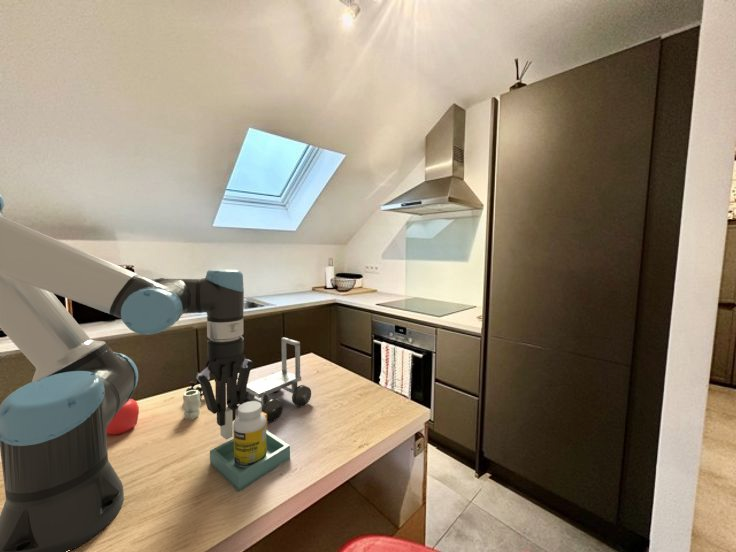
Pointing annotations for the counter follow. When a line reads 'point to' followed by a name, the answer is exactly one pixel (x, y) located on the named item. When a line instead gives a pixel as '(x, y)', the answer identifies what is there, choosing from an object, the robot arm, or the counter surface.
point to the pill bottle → (249, 435)
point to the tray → (245, 476)
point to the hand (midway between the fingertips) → (226, 435)
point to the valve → (192, 401)
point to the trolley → (279, 386)
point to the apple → (124, 418)
